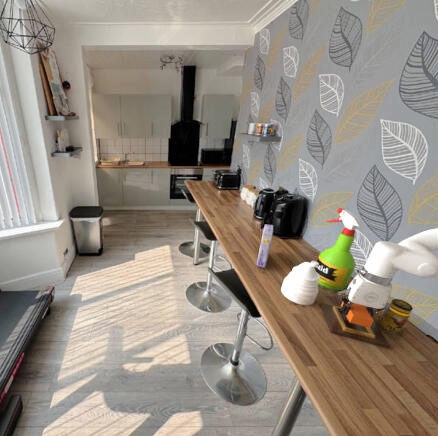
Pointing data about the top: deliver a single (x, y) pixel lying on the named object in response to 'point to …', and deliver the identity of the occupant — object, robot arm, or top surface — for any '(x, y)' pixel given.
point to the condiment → (395, 316)
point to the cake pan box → (265, 246)
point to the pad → (359, 315)
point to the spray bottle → (339, 254)
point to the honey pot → (302, 284)
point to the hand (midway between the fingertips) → (355, 314)
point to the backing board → (352, 327)
